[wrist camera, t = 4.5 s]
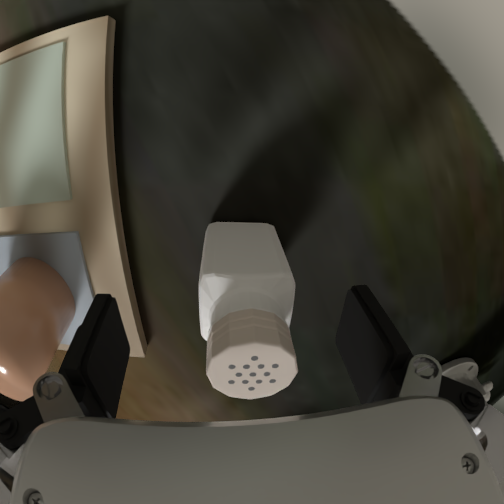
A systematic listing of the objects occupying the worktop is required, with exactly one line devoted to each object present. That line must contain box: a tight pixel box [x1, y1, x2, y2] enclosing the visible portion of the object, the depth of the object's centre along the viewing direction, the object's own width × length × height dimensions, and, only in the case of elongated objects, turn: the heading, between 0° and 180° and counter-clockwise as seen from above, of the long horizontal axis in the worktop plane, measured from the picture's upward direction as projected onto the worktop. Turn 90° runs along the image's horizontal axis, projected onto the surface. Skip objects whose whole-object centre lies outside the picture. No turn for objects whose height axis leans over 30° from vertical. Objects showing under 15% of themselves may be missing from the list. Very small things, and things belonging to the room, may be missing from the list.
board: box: [0, 16, 147, 357], centre depth 15 cm, size 14×22×2 cm, turn 178°
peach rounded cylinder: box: [0, 257, 75, 401], centre depth 14 cm, size 6×6×7 cm
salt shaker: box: [199, 222, 298, 399], centre depth 14 cm, size 4×4×10 cm
